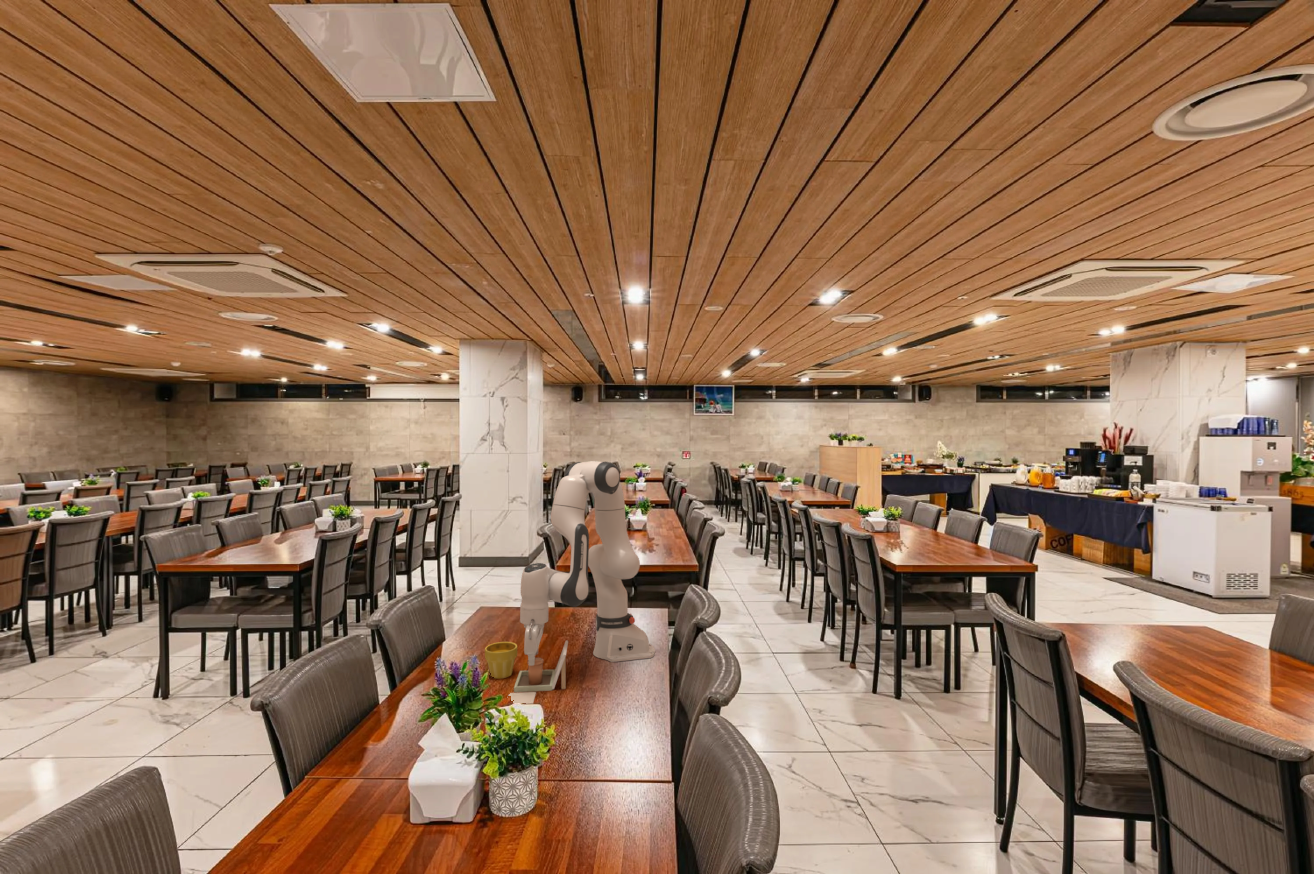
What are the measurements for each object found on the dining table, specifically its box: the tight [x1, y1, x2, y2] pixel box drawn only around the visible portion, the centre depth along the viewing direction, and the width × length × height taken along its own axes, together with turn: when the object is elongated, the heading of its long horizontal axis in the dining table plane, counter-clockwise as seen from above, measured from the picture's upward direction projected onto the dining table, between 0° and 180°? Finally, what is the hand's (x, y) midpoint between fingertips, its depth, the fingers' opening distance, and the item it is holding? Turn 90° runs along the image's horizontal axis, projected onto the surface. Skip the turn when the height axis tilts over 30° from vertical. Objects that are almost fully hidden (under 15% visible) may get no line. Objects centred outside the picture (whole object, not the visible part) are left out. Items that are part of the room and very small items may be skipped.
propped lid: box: [552, 640, 569, 690], centre depth 194 cm, size 4×14×12 cm, turn 5°
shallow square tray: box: [513, 668, 556, 693], centre depth 194 cm, size 12×14×2 cm
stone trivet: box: [507, 691, 537, 705], centre depth 181 cm, size 8×8×1 cm
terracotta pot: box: [527, 657, 544, 685], centre depth 194 cm, size 5×5×7 cm
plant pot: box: [484, 641, 518, 680], centre depth 201 cm, size 10×10×10 cm
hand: (533, 659), depth 193 cm, fingers open, 8 cm apart
